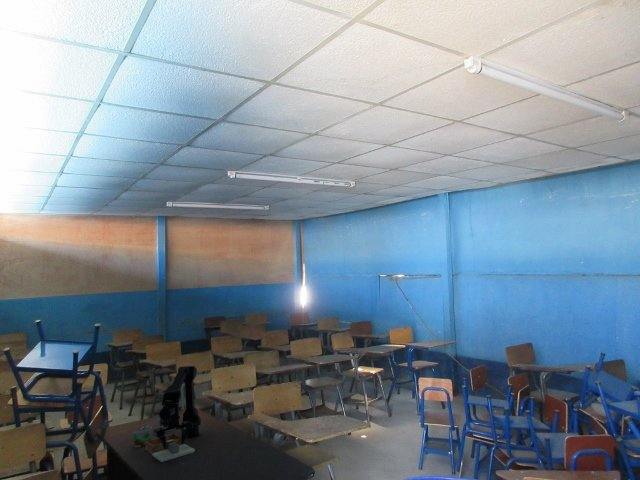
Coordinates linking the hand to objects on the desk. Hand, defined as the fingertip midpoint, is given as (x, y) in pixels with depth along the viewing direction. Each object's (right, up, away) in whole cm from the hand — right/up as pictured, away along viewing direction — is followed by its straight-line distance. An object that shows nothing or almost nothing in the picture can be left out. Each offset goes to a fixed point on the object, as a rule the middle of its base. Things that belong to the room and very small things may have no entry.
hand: (173, 446), depth 219 cm
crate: (-8, -6, +9) cm, 13 cm away
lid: (0, -5, 0) cm, 5 cm away
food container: (-21, -8, +17) cm, 28 cm away
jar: (-5, -5, +11) cm, 14 cm away
